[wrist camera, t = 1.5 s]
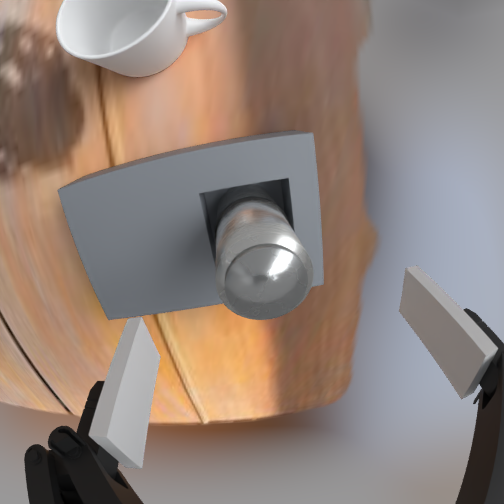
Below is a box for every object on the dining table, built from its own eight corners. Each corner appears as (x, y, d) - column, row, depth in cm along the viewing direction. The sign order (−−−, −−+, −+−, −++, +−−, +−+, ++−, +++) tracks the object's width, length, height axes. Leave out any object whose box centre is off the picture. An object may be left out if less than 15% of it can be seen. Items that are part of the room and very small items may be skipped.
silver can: (222, 245, 29) (224, 335, 17) (210, 188, 26) (201, 247, 14) (280, 235, 29) (320, 316, 17) (273, 177, 26) (316, 227, 15)
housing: (122, 289, 32) (108, 319, 27) (84, 175, 26) (57, 189, 20) (307, 256, 33) (323, 284, 27) (294, 130, 26) (312, 133, 21)
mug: (225, 71, 23) (228, 42, 14) (105, 85, 22) (50, 73, 13) (226, -2, 20) (230, -56, 10) (109, 13, 18) (64, -24, 9)
